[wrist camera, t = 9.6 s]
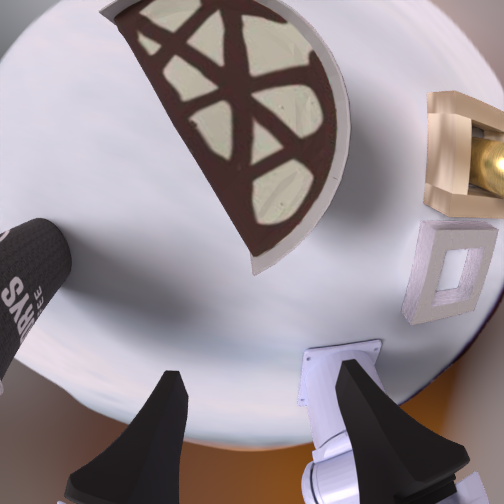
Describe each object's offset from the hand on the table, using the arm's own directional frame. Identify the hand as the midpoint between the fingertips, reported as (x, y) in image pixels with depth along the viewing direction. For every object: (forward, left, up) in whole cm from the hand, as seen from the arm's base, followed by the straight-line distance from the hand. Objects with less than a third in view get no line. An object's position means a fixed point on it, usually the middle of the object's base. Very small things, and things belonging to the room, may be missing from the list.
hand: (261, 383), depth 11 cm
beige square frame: (+10, -18, -10) cm, 23 cm away
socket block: (-1, -18, -10) cm, 21 cm away
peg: (+9, -18, -10) cm, 23 cm away
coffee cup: (+3, +19, -11) cm, 22 cm away
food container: (+12, 0, -11) cm, 16 cm away
